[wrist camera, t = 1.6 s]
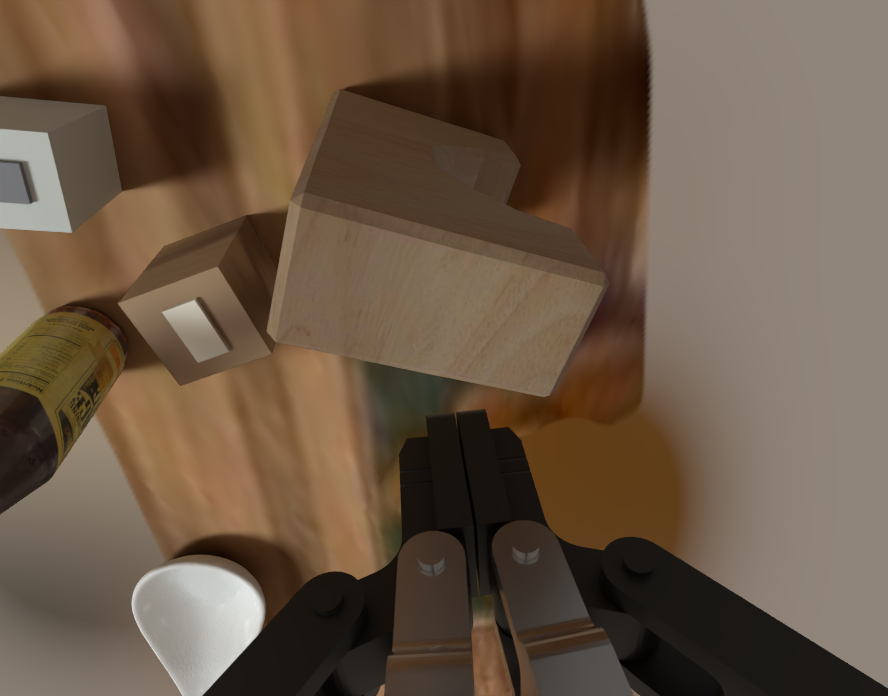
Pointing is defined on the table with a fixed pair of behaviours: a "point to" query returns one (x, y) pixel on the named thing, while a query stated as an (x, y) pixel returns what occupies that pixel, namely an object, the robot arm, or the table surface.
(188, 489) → the table surface
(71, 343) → the sauce bottle
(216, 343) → the walnut marked block
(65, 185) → the grey marked block
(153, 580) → the spoon rest
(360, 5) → the table surface
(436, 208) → the decorative block
